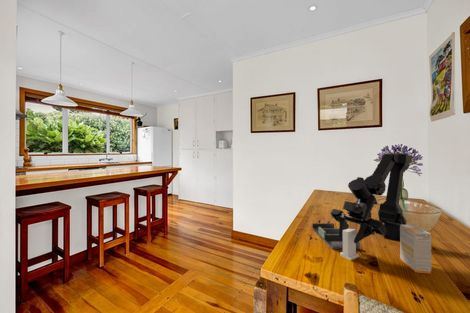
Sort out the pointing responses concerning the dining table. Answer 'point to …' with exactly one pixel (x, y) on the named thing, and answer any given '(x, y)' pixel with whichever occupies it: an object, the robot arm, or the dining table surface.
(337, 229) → the rack
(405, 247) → the supplement box
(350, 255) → the white pedestal column
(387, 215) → the robot arm
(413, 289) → the dining table surface
